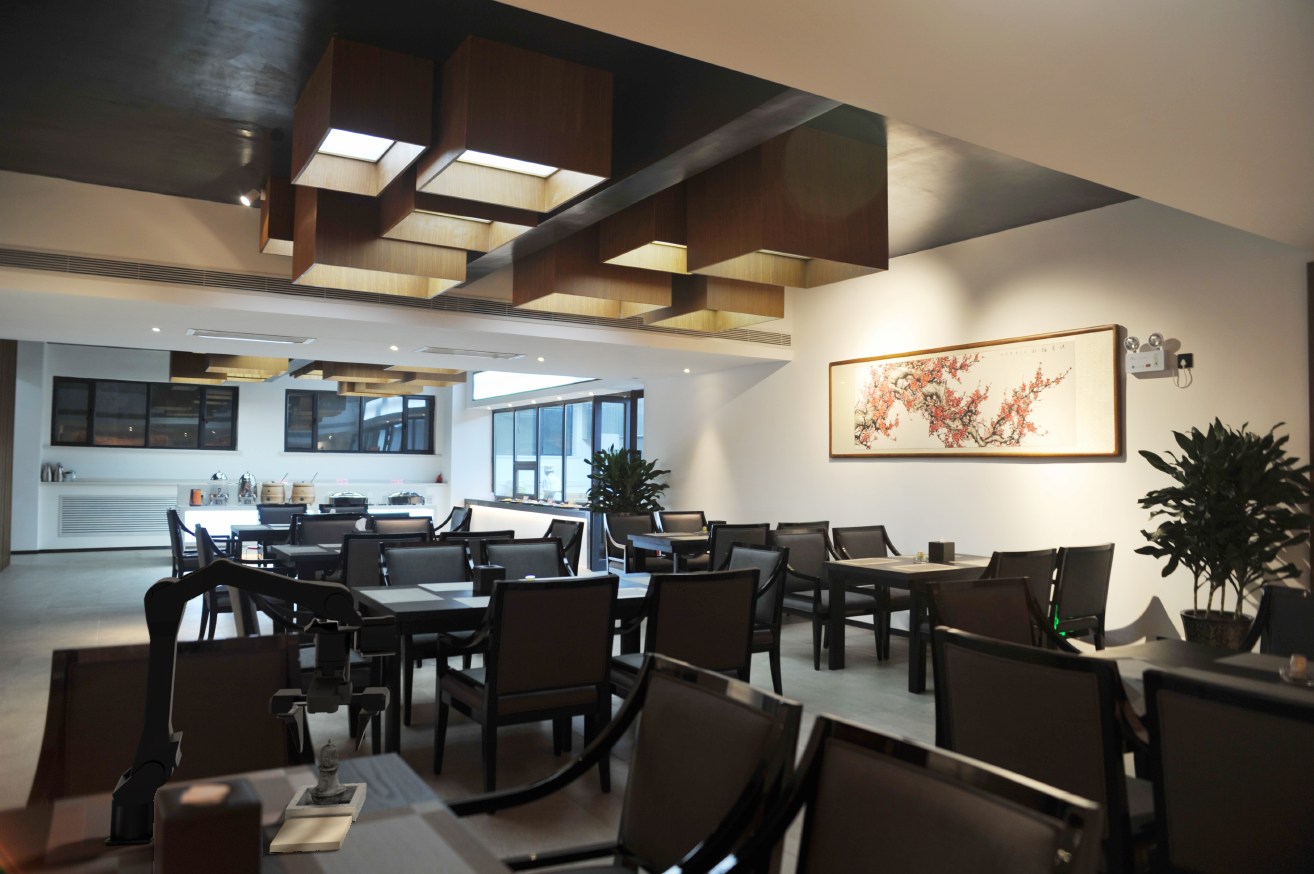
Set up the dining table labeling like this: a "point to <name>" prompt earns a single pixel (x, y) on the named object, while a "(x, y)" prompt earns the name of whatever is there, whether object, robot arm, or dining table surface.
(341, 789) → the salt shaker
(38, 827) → the dining table surface
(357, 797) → the grey square frame
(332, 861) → the dining table surface
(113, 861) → the dining table surface
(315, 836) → the wooden square board
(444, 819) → the dining table surface
